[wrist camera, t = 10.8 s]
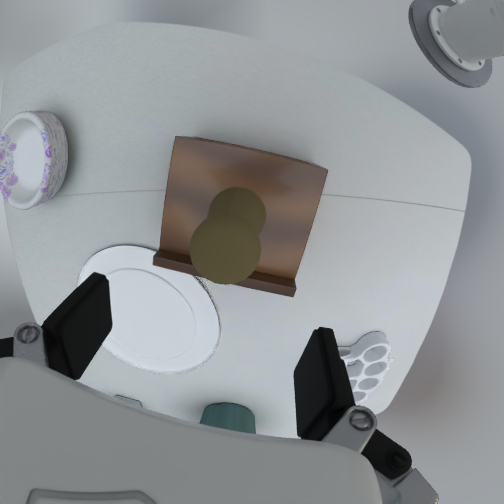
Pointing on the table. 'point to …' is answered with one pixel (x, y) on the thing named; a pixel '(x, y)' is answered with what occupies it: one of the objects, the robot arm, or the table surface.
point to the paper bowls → (32, 158)
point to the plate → (155, 312)
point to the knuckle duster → (366, 363)
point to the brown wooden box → (254, 179)
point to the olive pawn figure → (229, 237)
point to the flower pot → (229, 417)
